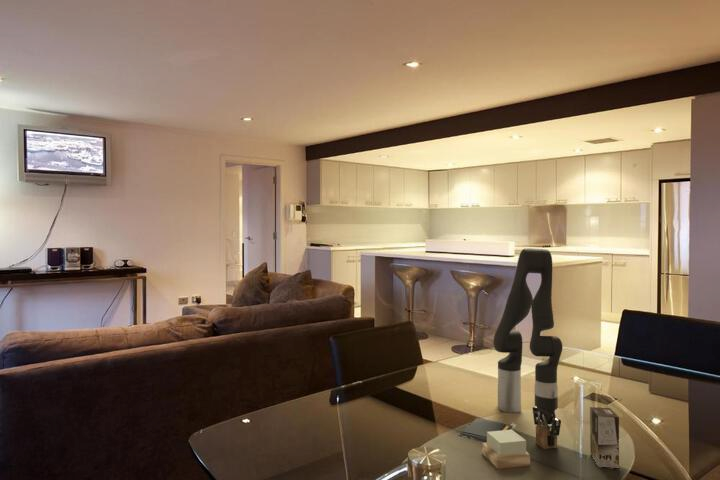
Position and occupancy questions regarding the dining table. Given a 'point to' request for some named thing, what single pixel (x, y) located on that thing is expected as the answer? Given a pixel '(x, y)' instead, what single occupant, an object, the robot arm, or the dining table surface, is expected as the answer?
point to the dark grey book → (483, 428)
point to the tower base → (505, 458)
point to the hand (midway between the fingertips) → (546, 442)
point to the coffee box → (604, 436)
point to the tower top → (506, 442)
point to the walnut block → (543, 437)
